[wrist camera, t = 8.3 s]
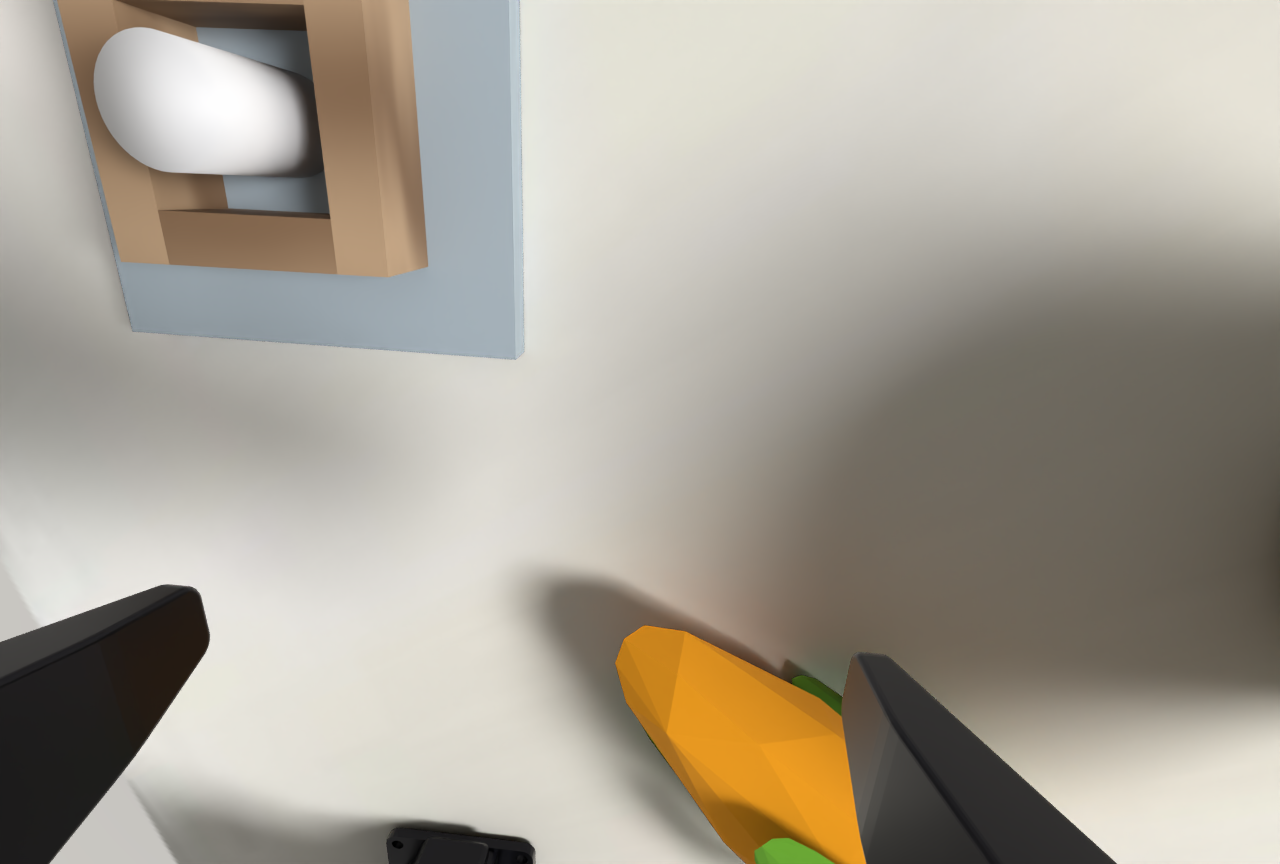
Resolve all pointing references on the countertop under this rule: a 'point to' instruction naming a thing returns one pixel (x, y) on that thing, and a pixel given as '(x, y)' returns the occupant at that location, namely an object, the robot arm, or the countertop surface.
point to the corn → (747, 747)
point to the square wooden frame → (349, 130)
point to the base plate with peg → (295, 181)
